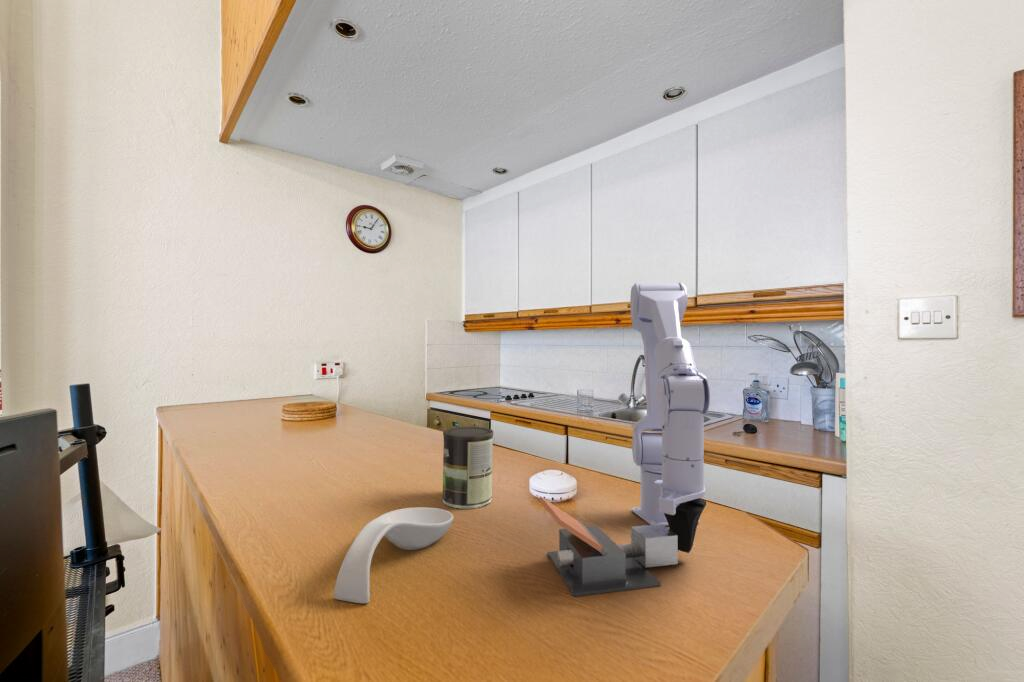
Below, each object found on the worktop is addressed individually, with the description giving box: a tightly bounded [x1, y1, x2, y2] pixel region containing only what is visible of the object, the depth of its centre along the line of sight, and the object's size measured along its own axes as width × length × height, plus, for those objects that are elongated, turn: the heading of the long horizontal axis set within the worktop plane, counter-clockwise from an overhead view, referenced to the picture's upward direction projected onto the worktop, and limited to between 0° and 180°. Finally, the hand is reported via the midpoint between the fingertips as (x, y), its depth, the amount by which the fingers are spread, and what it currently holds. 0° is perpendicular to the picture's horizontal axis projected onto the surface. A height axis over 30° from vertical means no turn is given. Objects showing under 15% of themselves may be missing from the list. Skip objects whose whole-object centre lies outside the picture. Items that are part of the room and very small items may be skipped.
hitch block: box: [546, 525, 662, 598], centre depth 58 cm, size 12×11×4 cm
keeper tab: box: [538, 496, 608, 556], centre depth 58 cm, size 8×9×1 cm
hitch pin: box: [556, 524, 679, 569], centre depth 59 cm, size 17×4×4 cm, turn 103°
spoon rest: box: [333, 506, 454, 604], centre depth 62 cm, size 24×12×7 cm, turn 168°
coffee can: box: [441, 426, 494, 510], centre depth 86 cm, size 10×10×14 cm
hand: (682, 549), depth 61 cm, fingers closed
